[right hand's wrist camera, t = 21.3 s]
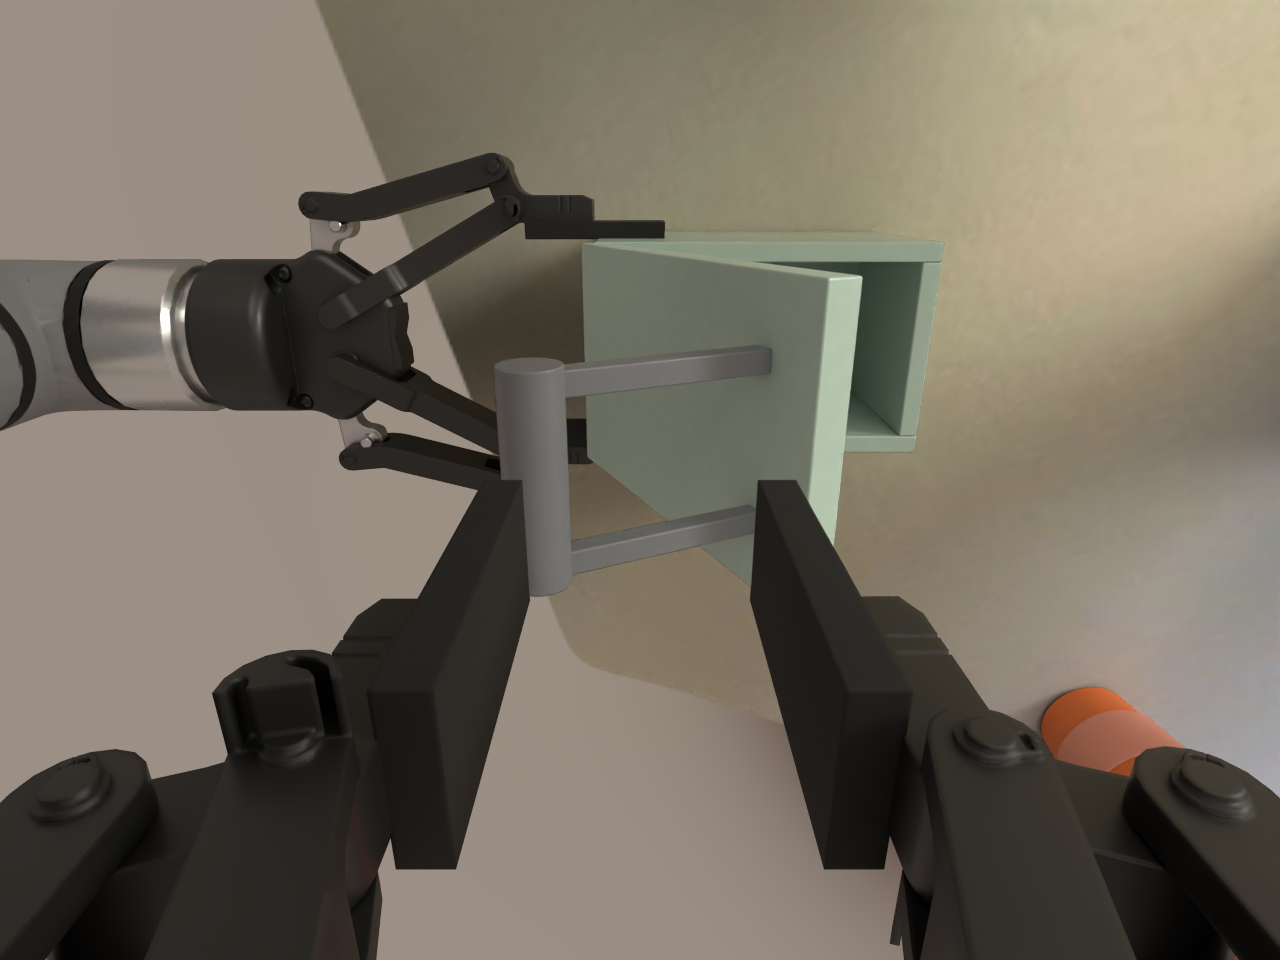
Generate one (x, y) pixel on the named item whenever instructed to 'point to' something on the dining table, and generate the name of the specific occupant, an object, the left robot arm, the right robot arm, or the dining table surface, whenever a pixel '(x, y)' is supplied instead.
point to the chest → (887, 318)
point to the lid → (684, 404)
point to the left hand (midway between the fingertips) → (662, 335)
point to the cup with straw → (1100, 731)
